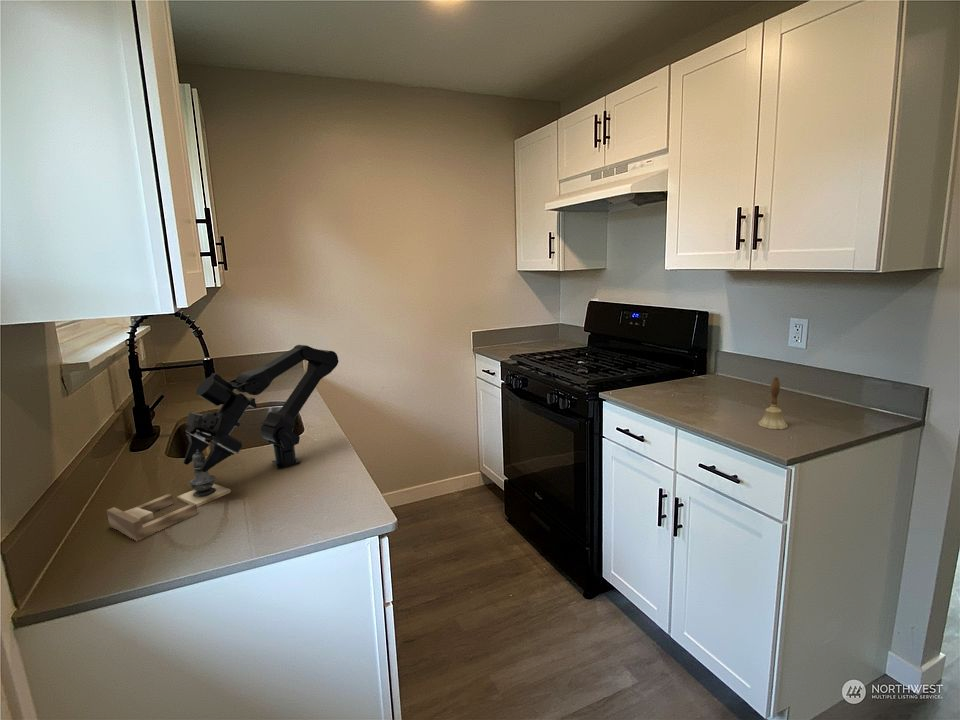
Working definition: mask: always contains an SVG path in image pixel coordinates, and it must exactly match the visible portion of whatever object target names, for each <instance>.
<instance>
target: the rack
mask: <svg viewBox="0 0 960 720" xmlns="http://www.w3.org/2000/svg"><path fill="white" fill-rule="evenodd" d="M171 504H172V505H174V504H175V502H174V497H173V494H171V493H167V494H165V495H162V496H159V497H157V498H155V499H152V500H150V501H147V502H145V503H143V504H140V505H137V506H134V507H133V508H130V509H127V510H125V511H124V510H121V509H119V508H117V507H114V506H113V507H111V508H109V509H106V514H107V519H108V524H109V527H110V526H111V527H113V528H115V529H117V530H119V531H120V532H122V533H123V534H125V535H127V536H129V537H130V538H129V537H128V538H129V539H131V538H132V539H131V540H133V539H134V540H133V541H135V540H136V541H135V542H139V541H141V540H143V539H145V537H146V538H148V537H150V536H152V535H154V534H156V533H155V532H157V531H159V532H161V531H163V530H165V529H167V528H166V527H168V528H170V527H172V526H174V525H176V524H179V523H181V522H182V520H183V521H185V520H188V519H189V517H190V518H192V517H194V516H197V515H198V514H199V511H198V507H197V505H196V504H194V503H192V504H187V505H185V506H183V507H180V508H178V509H176V510H174V511H171V512H169V513H167V514H165V515H162V516H159V517H158V518H154V520H153V521H150V522H148V523H146V524H143V525H142V522H141V520H140V519H138V518H136V517H134V516H132V515H130V514H128V513H126V512H128V511H130V510H133V509H135V508H141V509H144V510H147V511H150V512H153V513H155V512H157V511H156V510H158V511H160V510H163V509H165V508H167V507H169V505H170V506H172V505H171ZM166 506H167V507H166ZM164 507H165V508H164ZM162 508H163V509H162ZM159 509H160V510H159ZM154 511H155V512H154ZM178 522H179V523H178ZM173 524H174V525H173ZM171 525H172V526H171ZM169 526H170V527H169ZM164 528H165V529H164ZM162 529H163V530H162ZM160 530H161V531H160ZM120 532H119V533H120ZM122 533H121V534H122ZM153 533H154V534H153ZM157 533H158V532H157ZM123 534H122V535H123ZM151 534H152V535H151ZM125 535H124V536H125ZM149 535H150V536H149ZM127 536H126V537H127ZM147 536H148V537H147ZM138 540H139V541H138Z"/></svg>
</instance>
